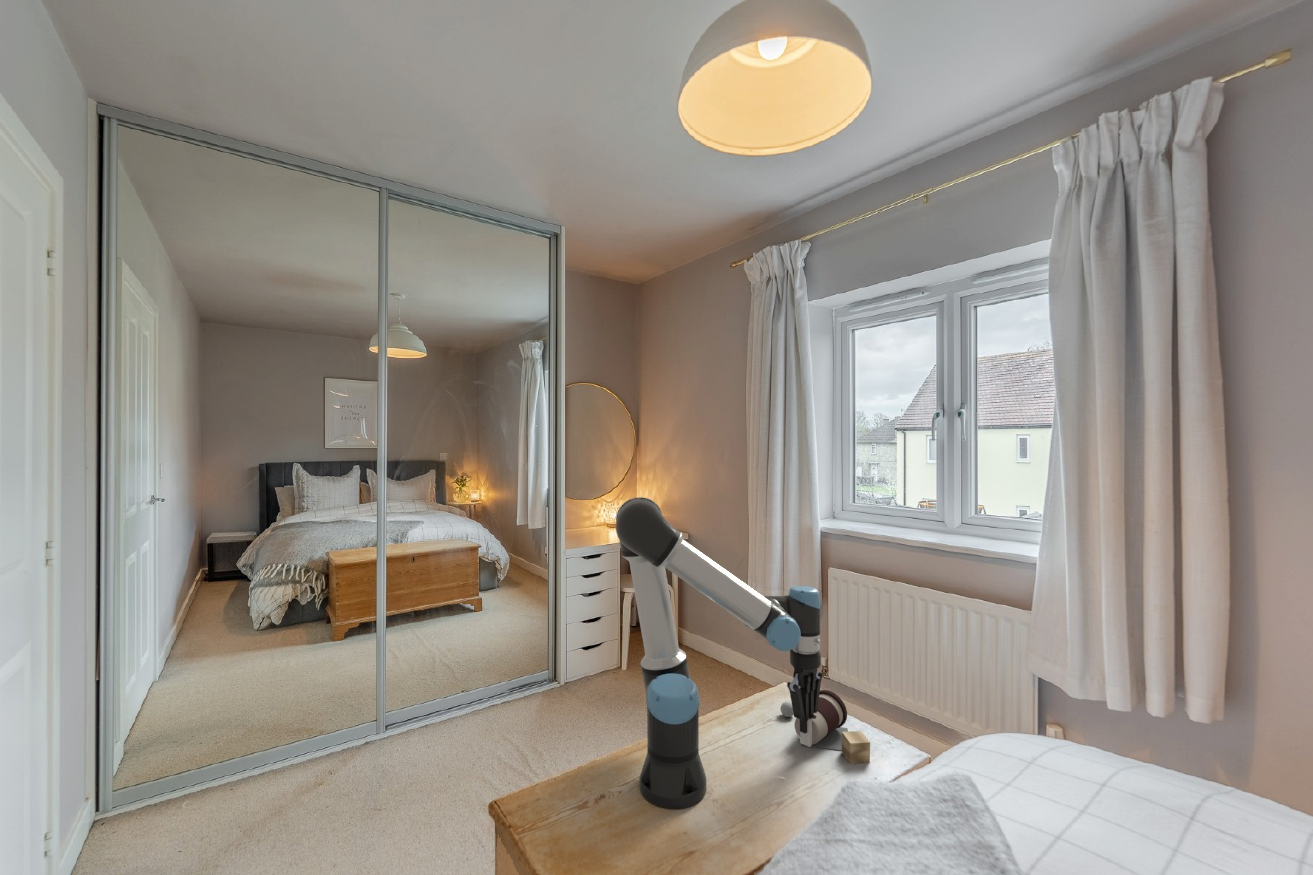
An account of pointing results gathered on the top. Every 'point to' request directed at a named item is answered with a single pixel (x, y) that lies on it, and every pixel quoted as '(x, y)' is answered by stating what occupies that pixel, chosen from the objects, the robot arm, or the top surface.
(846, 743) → the oak block
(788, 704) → the grey ball
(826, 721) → the coffee cup
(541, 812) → the top surface
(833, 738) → the display mat
